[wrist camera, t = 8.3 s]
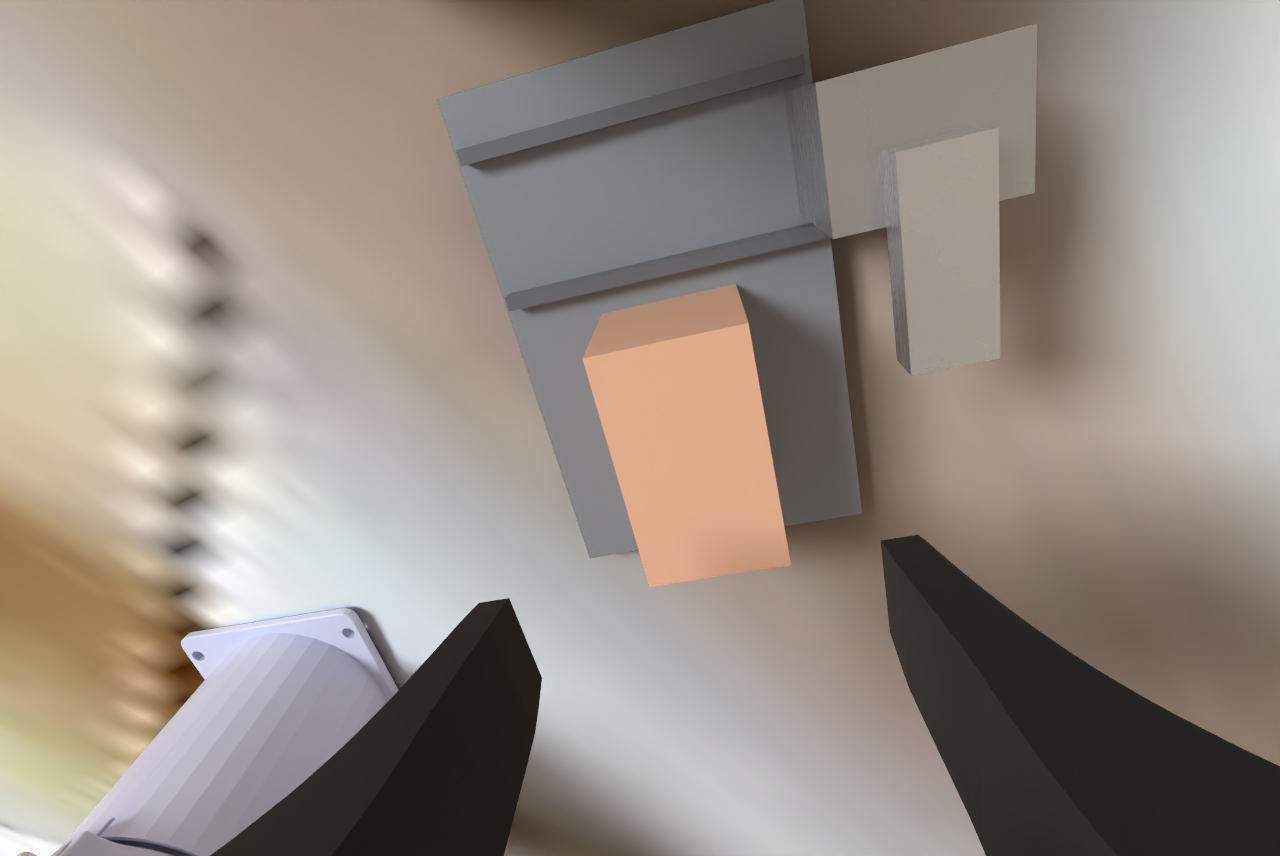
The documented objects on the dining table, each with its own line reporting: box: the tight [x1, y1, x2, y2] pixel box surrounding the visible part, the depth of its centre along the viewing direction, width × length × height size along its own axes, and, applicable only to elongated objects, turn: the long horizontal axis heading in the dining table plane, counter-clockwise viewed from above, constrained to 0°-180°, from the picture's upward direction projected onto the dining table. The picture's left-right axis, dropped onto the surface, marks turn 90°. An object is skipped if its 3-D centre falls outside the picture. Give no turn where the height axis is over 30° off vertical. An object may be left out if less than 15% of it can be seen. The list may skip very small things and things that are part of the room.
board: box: [437, 0, 862, 558], centre depth 19 cm, size 15×10×2 cm, turn 14°
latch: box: [784, 23, 1037, 376], centre depth 15 cm, size 6×4×5 cm, turn 14°
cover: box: [582, 284, 791, 587], centre depth 18 cm, size 7×4×4 cm, turn 14°
